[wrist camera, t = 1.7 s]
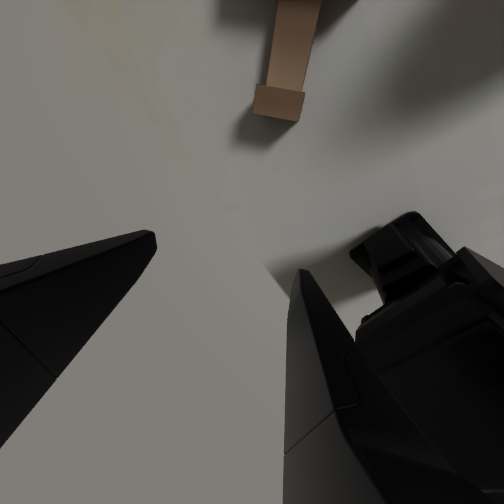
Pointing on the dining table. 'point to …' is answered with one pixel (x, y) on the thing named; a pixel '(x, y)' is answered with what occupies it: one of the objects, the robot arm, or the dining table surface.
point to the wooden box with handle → (288, 60)
